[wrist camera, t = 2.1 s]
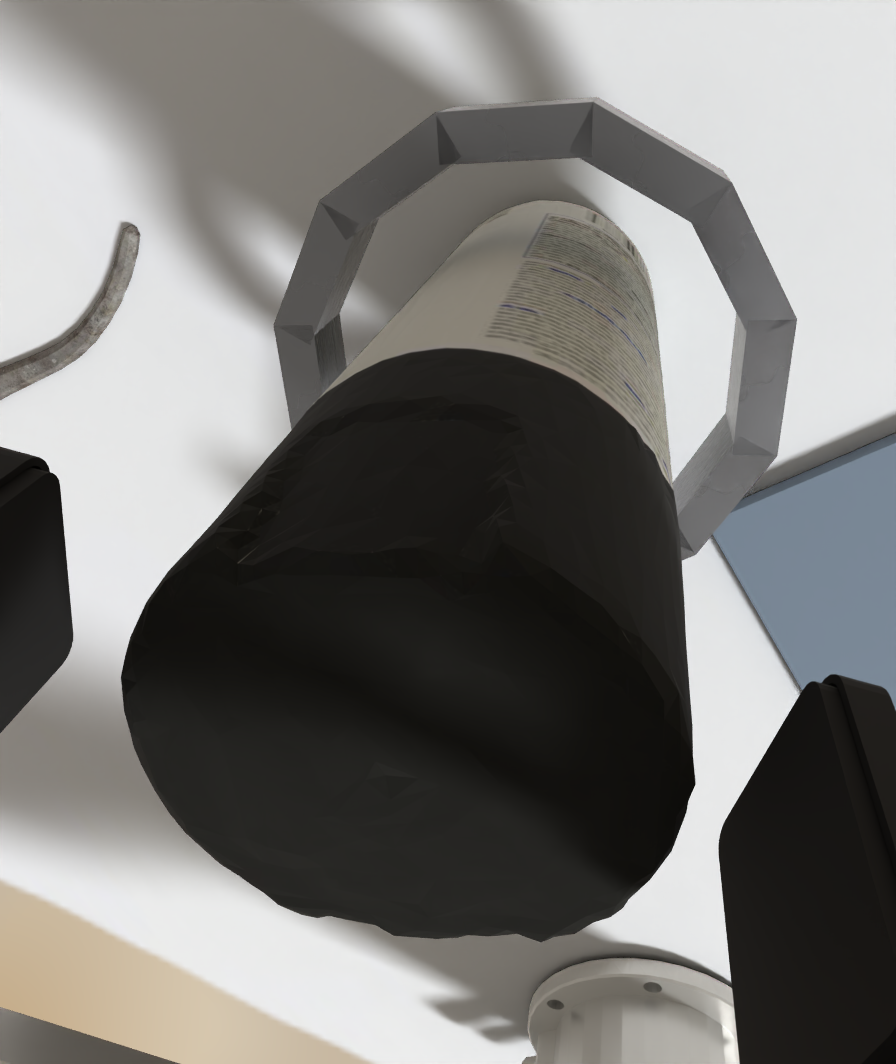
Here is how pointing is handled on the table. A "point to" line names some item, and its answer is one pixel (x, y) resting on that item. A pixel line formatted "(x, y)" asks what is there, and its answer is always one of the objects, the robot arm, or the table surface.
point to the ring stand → (627, 156)
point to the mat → (824, 565)
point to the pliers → (87, 333)
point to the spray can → (445, 613)
